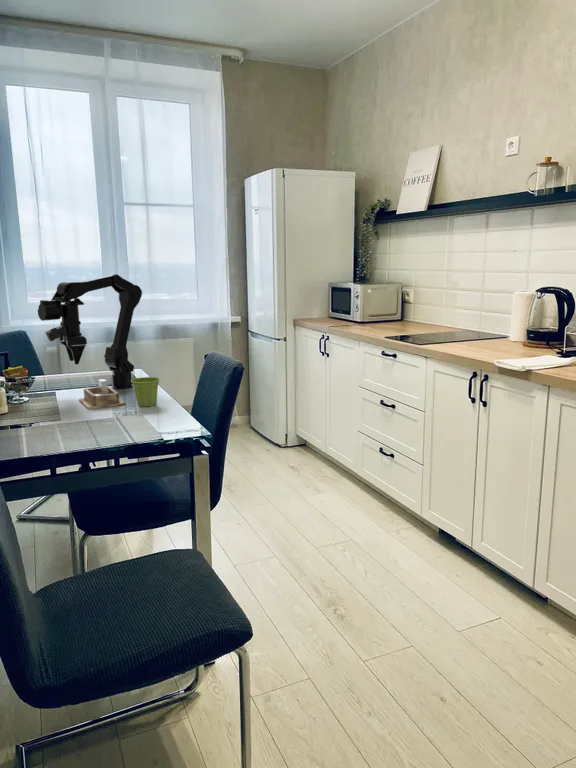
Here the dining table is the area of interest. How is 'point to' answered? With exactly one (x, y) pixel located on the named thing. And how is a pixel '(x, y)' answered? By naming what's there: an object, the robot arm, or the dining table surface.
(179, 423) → the dining table surface
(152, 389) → the plant pot
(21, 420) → the dining table surface
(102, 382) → the bracket
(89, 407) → the light wood shallow box
